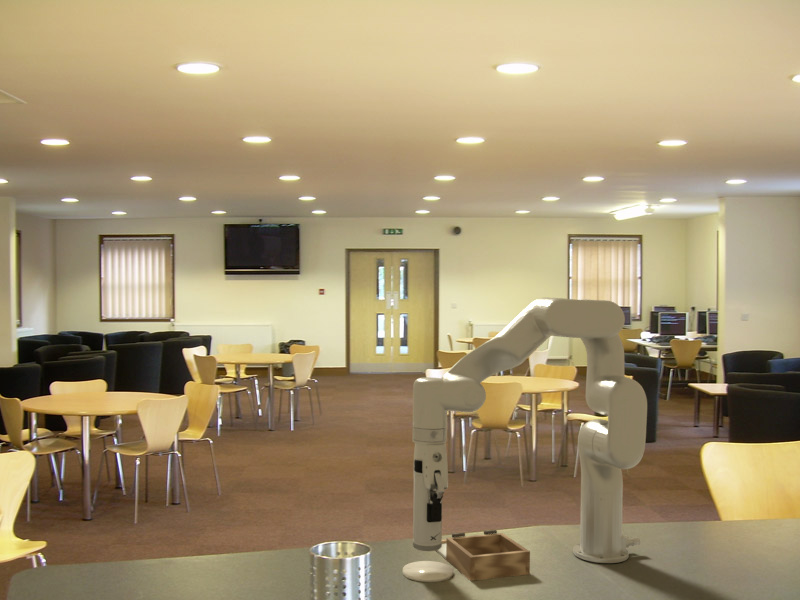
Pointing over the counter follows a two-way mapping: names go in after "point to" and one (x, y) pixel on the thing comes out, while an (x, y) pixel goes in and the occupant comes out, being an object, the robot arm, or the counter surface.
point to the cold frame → (486, 555)
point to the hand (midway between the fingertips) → (428, 516)
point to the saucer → (427, 571)
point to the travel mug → (424, 516)
